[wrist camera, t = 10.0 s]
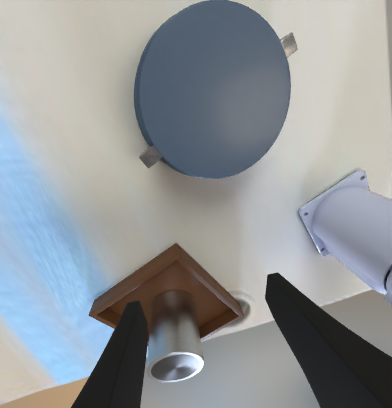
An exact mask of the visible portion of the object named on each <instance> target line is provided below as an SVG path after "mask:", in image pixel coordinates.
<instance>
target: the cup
mask: <svg viewBox="0 0 392 408" xmlns="http://www.w3.org/2000/svg"><path fill="white" fill-rule="evenodd" d="M203 364H204V359H203V353H202V346H201V340H200V333H199V327H198V320H197V314H196V307H195V301H194V298H193V297H192V295H190V294H189V293H187V292H185V291H181V290H172V291H167V292H164V293H162V294H160V295H159V296H157V297H156V298H155V299H154V301H153V303H152V307H151V320H150V333H149V347H148V360H147V374H148V376H149V377H150V378H151V379H153V380H155V381H159V382H177V381H181V380H185V379H187V378H189V377H192V376H193V375H195V374H196V373H198V372H199V371H200V370H201V369H202V367H203Z"/></svg>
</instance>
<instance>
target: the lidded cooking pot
mask: <svg viewBox="0 0 392 408" xmlns="http://www.w3.org/2000/svg"><path fill="white" fill-rule="evenodd" d="M296 50H297V45H296V42H295V39H294V36H293V33H292V32H291V33H290V34H288V35H286V36H285V37H283V38H282V39H279V38H278V36H277V34H276V33H275V31H274V30H273V29H272V27H271V26H270V25H269V24H268V22H267V21H266V20H265V19H264V18H262V17H261V16H260V15H259V14H258V13H256V12H255V11H253V10H252V9H250V8H249V7H247V6H244V5H242V4H239V3H237V2H232V1H228V0H209V1H202V2H199V3H196V4H193V5H191V6H189V7H187V8H185V9H183V10H182V11H180V12H178V13H177V14H175V15H174V16H172V17H171V18H170V19H168V20H167V21H166V22H165V23H163V24H162V25H161V26H160V28H159V29H158V30H157V31H156V32H155V33H154V35H153V36H152V37H151V39H150V40H149V42H148V43H147V45H146V47H145V49H144V52H143V54H142V56H141V59H140V62H139V65H138V68H137V73H136V78H135V86H134V106H135V112H136V117H137V121H138V124H139V127H140V130H141V132H142V134H143V136H144V138H145V140H146V141H147V143H148V145H149V146H150V147H148V148H147V149H146V150H145V151H144V152H142V153H141V155H140V157H139V158H140V159H141V161H142V162H143V163H144V164H145V165H146V166H147V167H148V168H150V167H151V166H152V165H154V164H155V163H156V162H157V161H159V160H160V159H161V160H162V161H163V162H165V163H166V164H167V165H168V166H170V167H171V168H173V169H174V170H176V171H178V172H180V173H183V174H185V175H188V176H192V177H197V178H205V179H218V178H225V177H229V176H232V175H235V174H238V173H240V172H242V171H244V170H246V169H247V168H249V167H251V166H252V165H253V164H255V163H256V162H257V161H258V160H260V159H261V158H262V157H263V156H264V155H265V153H266V152H267V151H268V150H269V149H270V147H271V146H272V145H273V143H274V142H275V140H276V138H277V137H278V135H279V133H280V131H281V129H282V126H283V124H284V121H285V119H286V115H287V111H288V107H289V101H290V90H291V82H290V71H289V65H288V60H287V57H289V56H290V55H291V54H292V53H294V52H295V51H296Z"/></svg>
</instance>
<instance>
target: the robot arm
mask: <svg viewBox="0 0 392 408" xmlns="http://www.w3.org/2000/svg"><path fill="white" fill-rule="evenodd" d="M299 214H300V216H301V218H302V220H303V222H304V224H305V226H306V228H307V230H308V232H309V234H310V236H311V238H312V240H313V242H314V244H315V246H316V248H317V250H318V251H319V253H320V255H321V256H326V255H328V254H329V253H330V254H331V255H332V256H334V257H335V258H336V259H337V260H338V261H339V262H341V263H342V264H343V265H344V266H345V267H347V268H348V269H349V270H350V271H351V272H352V273H354V274H355V275H356V276H357V277H358V278H360V279H361V280H362V281H363V282H364V283H366V284H367V285H368V286H369V287H371V288H372V289H374V290H375V291H377V292H380V293H382V294H385V297H384V299H385V300H386V301H387V302H388V303H389V304H391V305H392V199H389V198H387V197H384V196H381V195H379V194H376V193H373V192H371V191H370V189H369V185H368V181H367V176H366V172H365V171H364V170H361V169H360V170H357V171H356V172H354V173H353V174H351V175H350V176H348V177H347V178H345V179H344V180H342V181H341V182H339V183H337V184H336V185H334V186H333V187H331V188H330V189H328V190H327V191H325V192H324V193H322V194H321V195H319V196H318V197H316V198H314V199H313V200H311V201H310V202H308V203H307V204H305V205H304V206H302V207H301V208H300V209H299ZM265 299H266V302H267V304H268V306H269V309H270V311H271V313H272V315H273V318H274V319H275V321H276V323H277V325H278V327H279V328H280V330H281V332H282V334H283V335H284V337H285V339H286V341H287V343H288V344H289V346H290V348H291V350H292V352H293V353H294V355H295V357H296V359H297V360H298V362H299V364H300V366H301V368H302V370H303V372H304V373H305V375H306V378H307V380H308V382H309V384H310V386H311V388H312V390H313V392H314V395H315V397H316V399H317V401H318V403H319V405H320V407H321V408H392V357H391V356H389V355H387V354H385V353H384V352H382V351H381V350H379V349H378V348H376V347H374V346H373V345H372V344H370V343H369V342H367V341H366V340H364V339H362V338H361V337H360V336H358V335H357V334H355V333H354V332H352V331H351V330H349V329H348V328H346V327H345V326H344V325H342V324H341V323H340V322H338V321H337V320H335V319H334V318H333V317H331V316H330V315H329V314H328V313H326V312H325V311H323V310H322V309H321V308H320V307H319V306H317V305H316V304H315V303H314V302H312V301H311V300H310V299H309V298H307V297H306V296H305V295H304V294H302V293H301V292H300V291H299V290H298V289H297V288H295V287H294V286H293V285H292V284H291V283H290V282H288V281H287V280H286V279H285V278H284V277H283V276H281V275H280V274H279V273H274V274H269V275H268V276H267V286H266V295H265ZM147 340H148V322H147V320H146V317H145V314H144V312H143V309H142V306H141V304H140V301H134V302H129V303H127V304H126V306H125V308H124V311H123V313H122V315H121V317H120V319H119V321H118V324H117V326H116V328H115V330H114V332H113V334H112V336H111V338H110V340H109V342H108V344H107V346H106V348H105V349H104V351H103V353H102V355H101V357H100V359H99V361H98V362H97V364H96V366H95V368H94V370H93V371H92V373H91V375H90V377H89V378H88V380H87V382H86V384H85V385H84V387H83V389H82V390H81V392H80V394H79V395H78V397H77V399H76V400H75V402H74V403H73V405H72V407H71V408H140V402H141V395H142V387H143V378H144V370H145V361H146V353H147Z"/></svg>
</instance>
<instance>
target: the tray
mask: <svg viewBox="0 0 392 408" xmlns="http://www.w3.org/2000/svg"><path fill="white" fill-rule="evenodd" d="M172 290H181V291H185V292H187V293H189V294H190V295H192V297H193V298H194V301H195V307H196V314H197V320H198V327H199V333H200V340H201V341H202V340H204V339H205V338H207V337H209V336H210V335H212V334H214V333H216V332H217V331H219V330H221V329H222V328H224V327H226V326H228V325H229V324H231V323H233V322H235V321H236V320H238V319H240V318H241V317H243V316H244V313H243V311H242V308H241V306H240V303H239V302H238V301H237V300H236V299H235V298H234V297H233V296H231V295H230V294H229V293H228V292H227V291H226V290H225V289H224V288H223V287H222V286H221V285H220V284H219V283H218V282H217V281H216V280H215V279H214V278H213V277H212V276H211V275H209V274H208V273H207V272H206V271H205V270H204V269H203V268H202V267H201V266H200V265H199V264H198V263H197V262H196V261H195V260H194V259H193V258H192V257H191V256H190V255H189V254H187V253H186V252H185V251H184V250H183V249H182V248H181V247H180V246H179V245H178V244H177V243H176V244H174V245H173V246H171V247H170V248H168V249H167V250H166V251H164V252H163V253H161V254H160V255H158V256H157V257H156V258H154V259H153V260H151V261H150V262H148V263H147V264H146V265H144V266H143V267H141V268H140V269H138V270H137V271H136V272H134V273H133V274H131V275H130V276H128V277H127V278H126V279H124V280H123V281H121V282H120V283H118V284H117V285H115V286H114V287H113V288H111V289H110V290H108V291H107V292H105V293H104V294H103V295H101V296H100V297H98V298H97V299H95V300H94V302H93V305H92V308H91V310H90V313H89V316H91V317H93V318H94V319H96V320H98V321H100V322H102V323H104V324H106V325H108V326H110V327H112V328H114V329H115V328H116V326H117V324H118V321H119V319H120V317H121V315H122V313H123V311H124V308H125V306H126V304H127V303H129V302H134V301H140V304H141V306H142V309H143V312H144V314H145V317H146V320H147V322H148V340H147V346H149V333H150V320H151V307H152V303H153V301H154V299H155V298H156V297H157V296H159V295H160V294H162V293H164V292H167V291H172Z"/></svg>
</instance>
